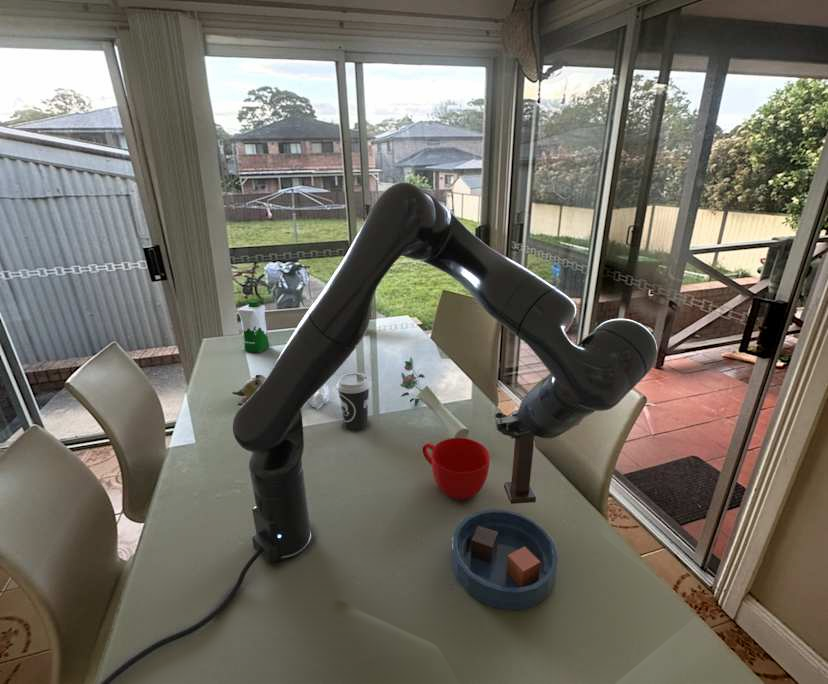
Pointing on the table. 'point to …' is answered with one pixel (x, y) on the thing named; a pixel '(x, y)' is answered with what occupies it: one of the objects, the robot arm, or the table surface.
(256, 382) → the ceramic sculpture
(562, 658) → the table surface
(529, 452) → the wooden post with base
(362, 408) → the coffee cup
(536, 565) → the terracotta block
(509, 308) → the robot arm
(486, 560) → the walnut block
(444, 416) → the flower vase
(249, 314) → the soya milk
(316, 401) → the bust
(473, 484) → the ceramic cup
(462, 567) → the bowl
